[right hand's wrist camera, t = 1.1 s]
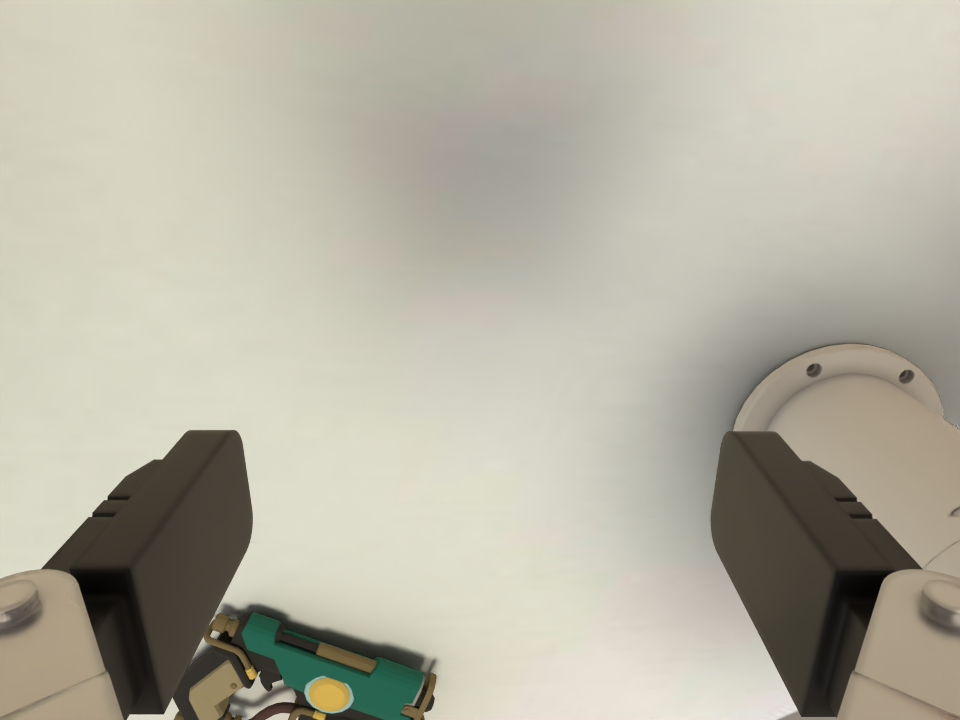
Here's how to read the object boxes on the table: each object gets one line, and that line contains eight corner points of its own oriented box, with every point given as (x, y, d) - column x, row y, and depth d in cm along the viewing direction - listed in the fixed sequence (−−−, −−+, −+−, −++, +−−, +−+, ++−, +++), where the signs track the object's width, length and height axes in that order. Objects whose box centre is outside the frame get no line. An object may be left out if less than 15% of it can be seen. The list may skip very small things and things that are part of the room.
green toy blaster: (159, 683, 51) (267, 546, 47) (343, 792, 54) (459, 672, 50) (130, 730, 47) (245, 584, 43) (330, 845, 50) (455, 718, 46)
